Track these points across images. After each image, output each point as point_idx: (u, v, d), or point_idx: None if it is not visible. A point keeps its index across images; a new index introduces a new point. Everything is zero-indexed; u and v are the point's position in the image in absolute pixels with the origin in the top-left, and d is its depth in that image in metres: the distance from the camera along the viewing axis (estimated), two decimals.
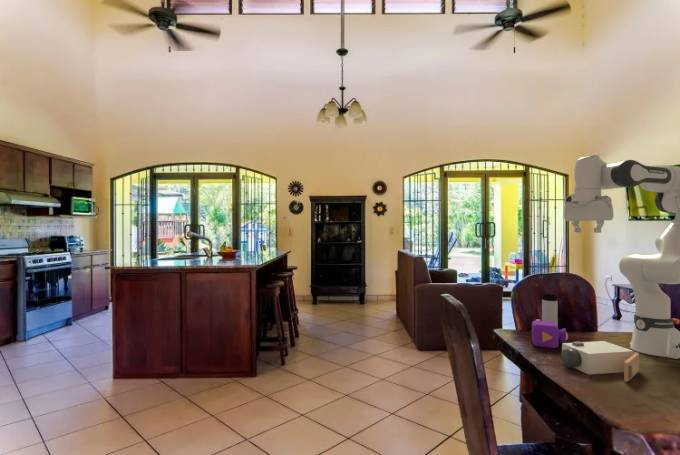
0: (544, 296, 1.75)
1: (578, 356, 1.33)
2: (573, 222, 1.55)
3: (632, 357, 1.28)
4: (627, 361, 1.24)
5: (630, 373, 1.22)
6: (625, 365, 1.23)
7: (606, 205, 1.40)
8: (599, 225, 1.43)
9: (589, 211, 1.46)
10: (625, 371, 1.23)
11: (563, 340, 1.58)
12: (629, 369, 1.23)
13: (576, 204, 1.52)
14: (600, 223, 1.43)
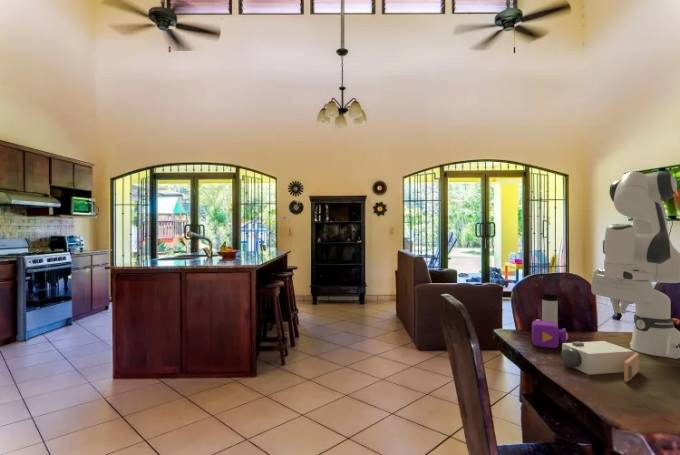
0: (544, 296, 1.75)
1: (578, 356, 1.33)
2: None
3: (632, 357, 1.28)
4: (627, 361, 1.24)
5: (630, 373, 1.22)
6: (625, 365, 1.23)
7: None
8: None
9: None
10: (625, 371, 1.23)
11: (563, 340, 1.58)
12: (629, 369, 1.23)
13: None
14: None
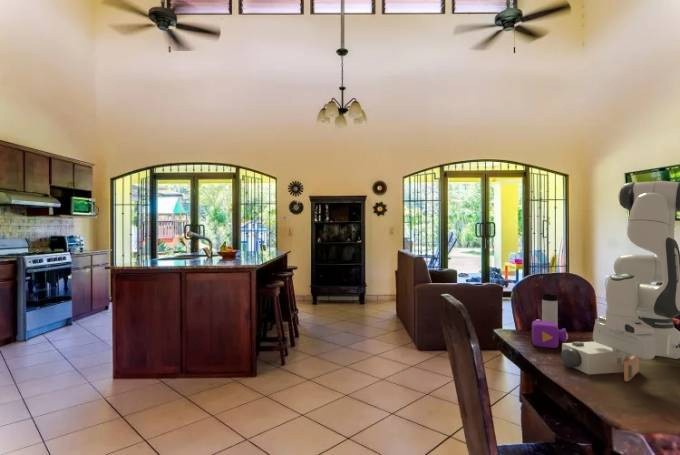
0: (544, 296, 1.75)
1: (578, 356, 1.33)
2: None
3: (632, 357, 1.28)
4: (627, 361, 1.24)
5: (630, 373, 1.22)
6: (625, 365, 1.23)
7: None
8: None
9: None
10: (625, 371, 1.23)
11: (563, 340, 1.58)
12: (629, 369, 1.23)
13: None
14: None
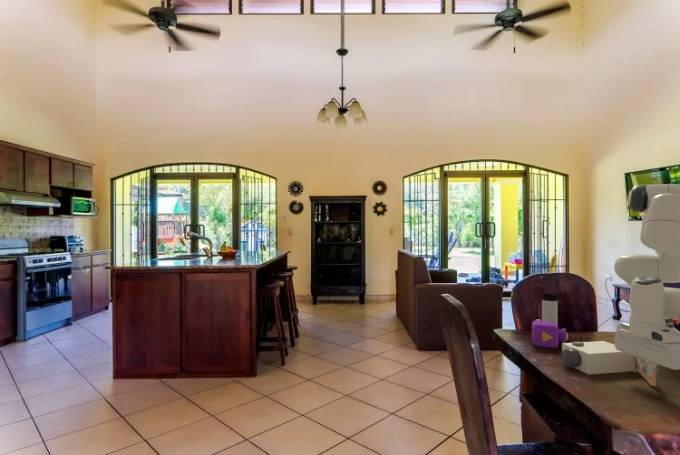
0: (544, 296, 1.75)
1: (578, 356, 1.33)
2: None
3: None
4: None
5: (657, 377, 1.19)
6: (653, 370, 1.19)
7: None
8: None
9: None
10: (653, 376, 1.19)
11: (563, 340, 1.58)
12: (656, 373, 1.19)
13: None
14: None
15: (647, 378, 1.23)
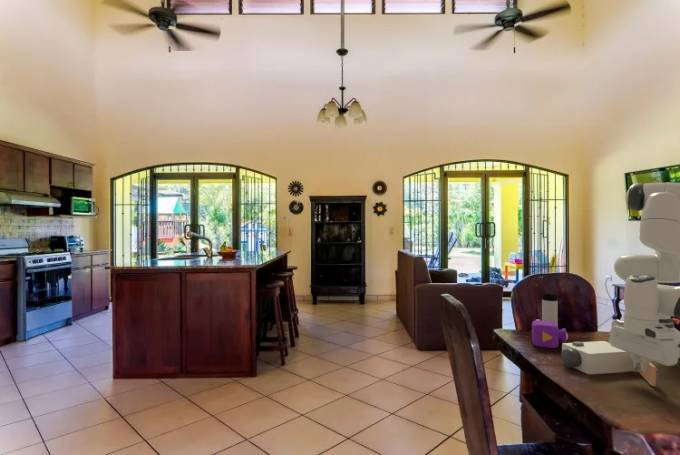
0: (544, 296, 1.75)
1: (578, 356, 1.33)
2: None
3: None
4: (652, 365, 1.20)
5: (657, 377, 1.19)
6: (653, 370, 1.19)
7: None
8: None
9: None
10: (653, 376, 1.19)
11: (563, 340, 1.58)
12: (656, 373, 1.19)
13: None
14: None
15: (647, 378, 1.23)
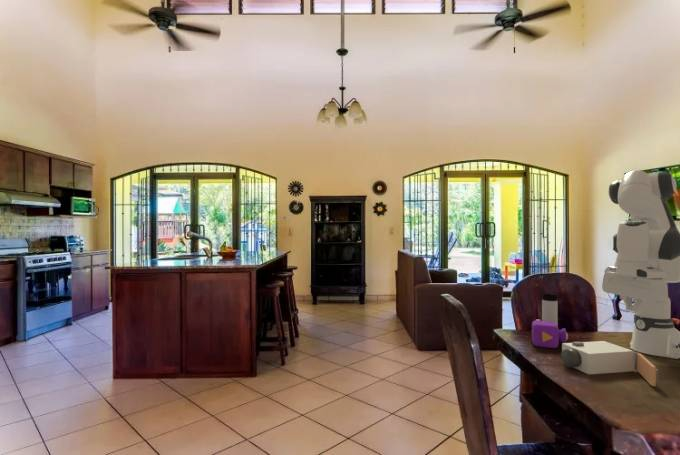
0: (544, 296, 1.75)
1: (578, 356, 1.33)
2: None
3: (645, 359, 1.26)
4: (652, 365, 1.20)
5: (657, 377, 1.19)
6: (653, 370, 1.19)
7: None
8: None
9: None
10: (653, 376, 1.19)
11: (563, 340, 1.58)
12: (656, 373, 1.19)
13: None
14: None
15: (647, 378, 1.23)
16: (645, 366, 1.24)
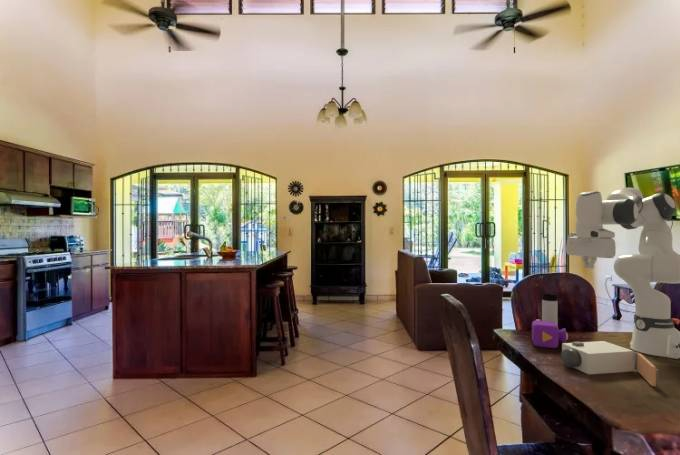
0: (544, 296, 1.75)
1: (578, 356, 1.33)
2: None
3: (645, 359, 1.26)
4: (652, 365, 1.20)
5: (657, 377, 1.19)
6: (653, 370, 1.19)
7: None
8: None
9: None
10: (653, 376, 1.19)
11: (563, 340, 1.58)
12: (656, 373, 1.19)
13: None
14: None
15: (647, 378, 1.23)
16: (645, 366, 1.24)
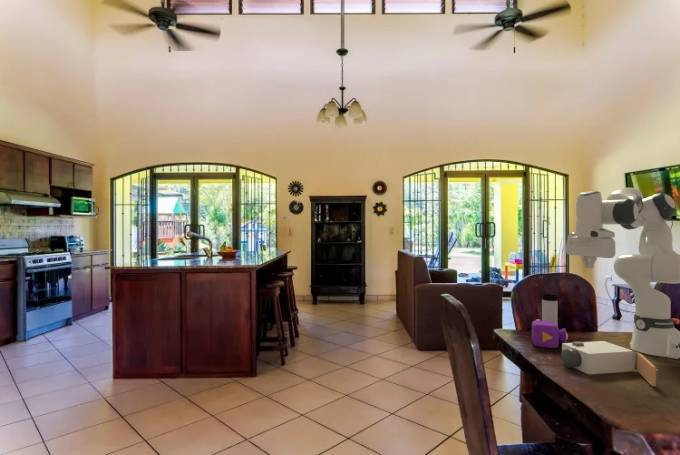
0: (544, 296, 1.75)
1: (578, 356, 1.33)
2: None
3: (645, 359, 1.26)
4: (652, 365, 1.20)
5: (657, 377, 1.19)
6: (653, 370, 1.19)
7: None
8: None
9: None
10: (653, 376, 1.19)
11: (563, 340, 1.58)
12: (656, 373, 1.19)
13: None
14: None
15: (647, 378, 1.23)
16: (645, 366, 1.24)
